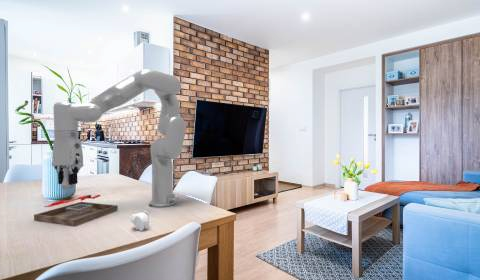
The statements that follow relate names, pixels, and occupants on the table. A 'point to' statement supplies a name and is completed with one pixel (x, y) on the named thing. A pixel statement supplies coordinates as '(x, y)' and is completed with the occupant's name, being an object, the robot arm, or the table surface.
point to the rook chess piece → (66, 179)
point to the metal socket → (79, 209)
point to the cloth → (72, 200)
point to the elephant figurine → (140, 220)
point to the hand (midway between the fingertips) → (67, 183)
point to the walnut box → (72, 220)
